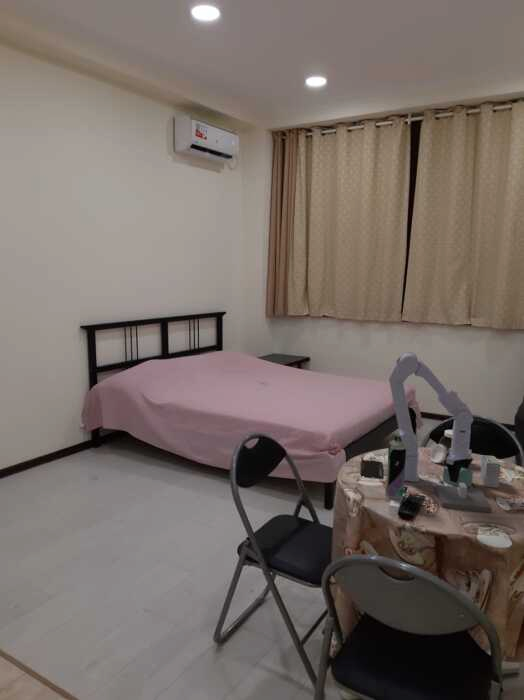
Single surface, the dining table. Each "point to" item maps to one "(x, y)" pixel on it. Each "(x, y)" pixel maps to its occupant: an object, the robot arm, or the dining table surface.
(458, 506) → the key board
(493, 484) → the medicine box
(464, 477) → the keyed cap
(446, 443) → the spread jar
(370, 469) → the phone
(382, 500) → the dining table surface
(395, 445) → the spray can
